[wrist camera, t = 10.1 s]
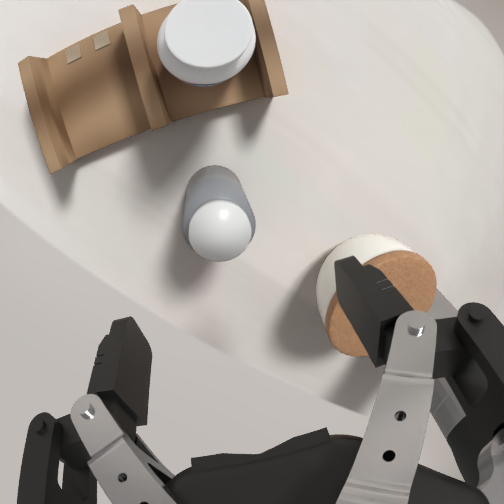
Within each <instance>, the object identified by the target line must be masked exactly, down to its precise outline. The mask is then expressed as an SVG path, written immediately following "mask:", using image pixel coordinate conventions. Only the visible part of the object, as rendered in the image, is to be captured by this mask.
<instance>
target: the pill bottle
mask: <svg viewBox="0 0 504 504" xmlns="http://www.w3.org/2000/svg"><path fill="white" fill-rule="evenodd" d="M255 42H256V35H255V29H254V26H253V22H252V18H251V15H250V13H249V11H248V10H247V8H246V7H245V6H244V5H243V4H242V3H241V2H240V1H238V0H182V1H181V2H179V3H178V4H177V5H176V6H175V7H174V8H173V9H172V10H171V12H170V13H169V15H168V16H167V17H166V18H165V20H164V21H163V23H162V25H161V27H160V29H159V32H158V37H157V50H158V54H159V57H160V60H161V62H162V63H163V65H164V66H165V68H166V69H167V70H168V71H169V72H170V73H171V74H172V75H174V76H175V77H176V78H177V79H178V80H180V81H181V82H183V83H185V84H188V85H190V86H194V87H212V86H215V85H218V84H221V83H223V82H224V81H226V80H228V79H230V78H231V77H233V76H235V75H236V74H237V73H239V72H240V71H241V70H242V69H243V68H244V67H245V65H246V64H247V63H248V62H249V60H250V58H251V56H252V54H253V51H254V48H255Z"/></svg>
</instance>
